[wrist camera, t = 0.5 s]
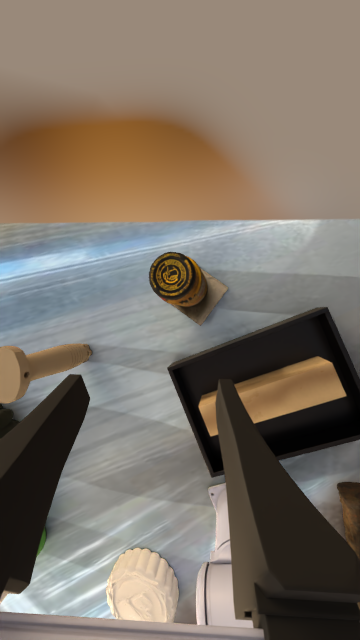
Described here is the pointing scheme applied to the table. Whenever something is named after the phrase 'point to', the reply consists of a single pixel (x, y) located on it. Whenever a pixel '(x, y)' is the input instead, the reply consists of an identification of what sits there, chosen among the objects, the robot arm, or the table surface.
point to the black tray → (266, 356)
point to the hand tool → (351, 514)
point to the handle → (35, 366)
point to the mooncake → (142, 588)
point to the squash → (6, 421)
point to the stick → (281, 391)
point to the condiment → (185, 285)
